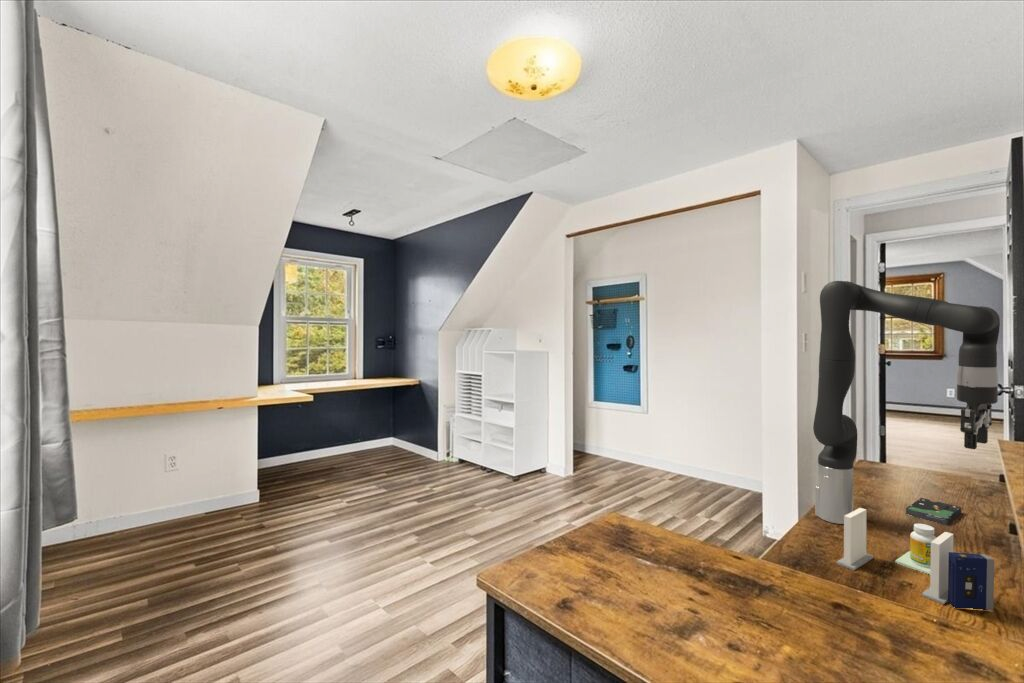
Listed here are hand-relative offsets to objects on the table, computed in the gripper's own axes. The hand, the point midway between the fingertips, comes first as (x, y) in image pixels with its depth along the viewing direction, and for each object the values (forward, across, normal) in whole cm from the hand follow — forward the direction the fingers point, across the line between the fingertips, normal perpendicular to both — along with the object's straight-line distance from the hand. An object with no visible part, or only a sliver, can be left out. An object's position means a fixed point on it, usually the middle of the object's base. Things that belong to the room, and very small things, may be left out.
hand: (976, 445), depth 122 cm
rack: (+30, +26, -8) cm, 40 cm away
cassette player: (+30, +28, +6) cm, 42 cm away
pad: (+30, +14, -6) cm, 34 cm away
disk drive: (+31, -26, -16) cm, 44 cm away
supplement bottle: (+30, +14, -6) cm, 34 cm away
